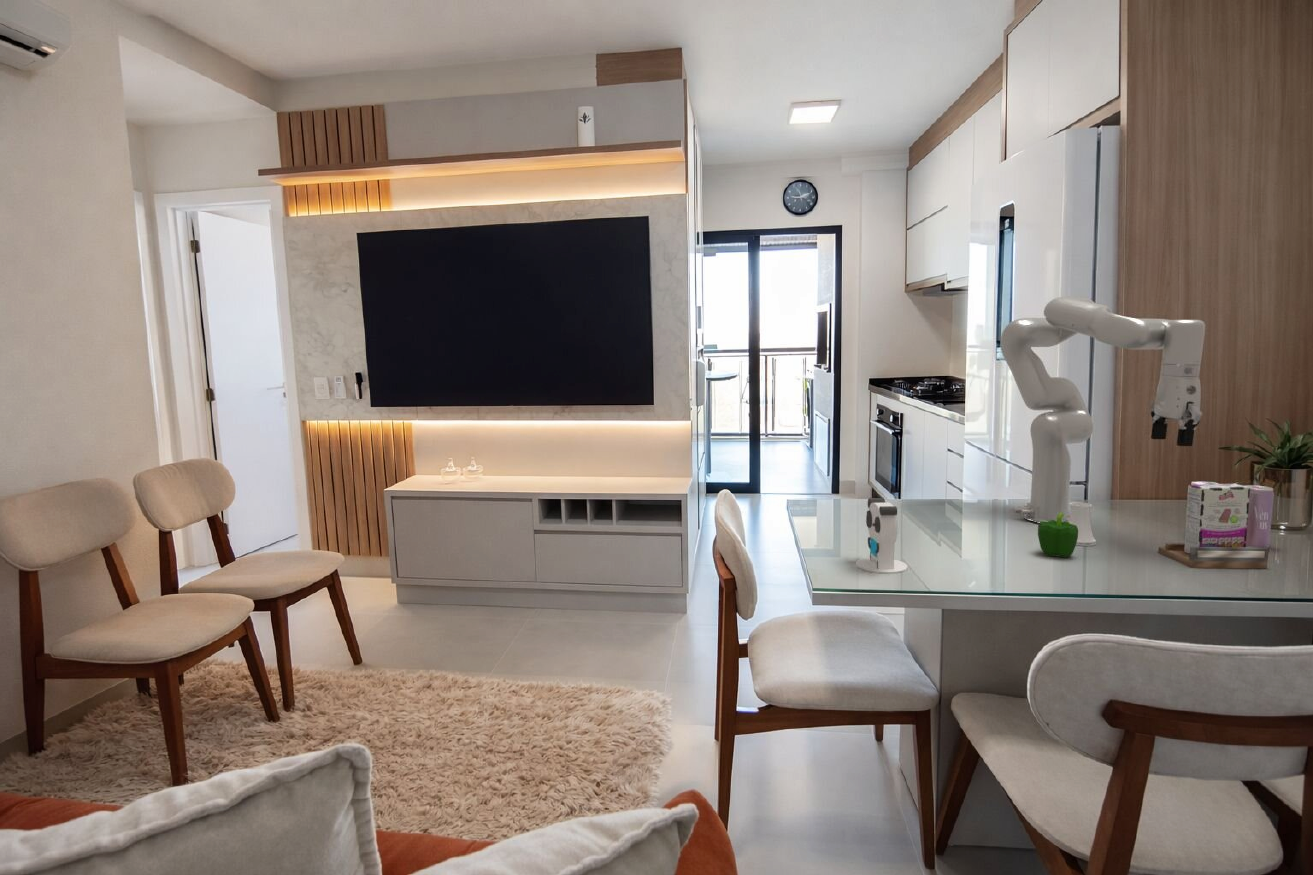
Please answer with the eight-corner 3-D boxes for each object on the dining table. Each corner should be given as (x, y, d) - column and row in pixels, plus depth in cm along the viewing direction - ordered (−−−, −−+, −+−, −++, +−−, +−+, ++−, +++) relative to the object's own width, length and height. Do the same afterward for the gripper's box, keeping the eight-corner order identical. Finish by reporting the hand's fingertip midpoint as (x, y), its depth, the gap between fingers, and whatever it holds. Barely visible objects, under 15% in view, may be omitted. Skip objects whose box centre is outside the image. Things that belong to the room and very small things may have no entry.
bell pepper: (1062, 562, 164) (1065, 520, 162) (1030, 553, 171) (1032, 513, 170) (1084, 556, 167) (1087, 515, 166) (1051, 548, 175) (1054, 509, 173)
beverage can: (1261, 544, 176) (1267, 485, 174) (1273, 550, 170) (1279, 490, 168) (1232, 542, 178) (1238, 484, 176) (1243, 548, 172) (1249, 489, 170)
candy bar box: (1227, 551, 165) (1233, 482, 163) (1245, 557, 160) (1252, 486, 158) (1181, 552, 165) (1186, 483, 163) (1198, 558, 160) (1204, 487, 158)
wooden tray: (1192, 567, 158) (1194, 548, 157) (1158, 552, 170) (1159, 534, 170) (1268, 568, 157) (1269, 549, 156) (1227, 553, 169) (1229, 534, 168)
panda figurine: (850, 557, 169) (851, 496, 167) (897, 557, 168) (899, 496, 167) (863, 573, 157) (864, 508, 155) (914, 573, 157) (916, 507, 155)
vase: (1093, 539, 182) (1095, 502, 181) (1097, 547, 175) (1100, 508, 174) (1060, 537, 185) (1062, 500, 184) (1063, 544, 178) (1065, 505, 177)
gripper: (1222, 374, 158) (1212, 449, 161) (1172, 369, 175) (1164, 437, 178) (1187, 374, 159) (1177, 448, 162) (1141, 369, 176) (1133, 436, 179)
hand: (1170, 442), depth 170 cm, fingers open, 9 cm apart
